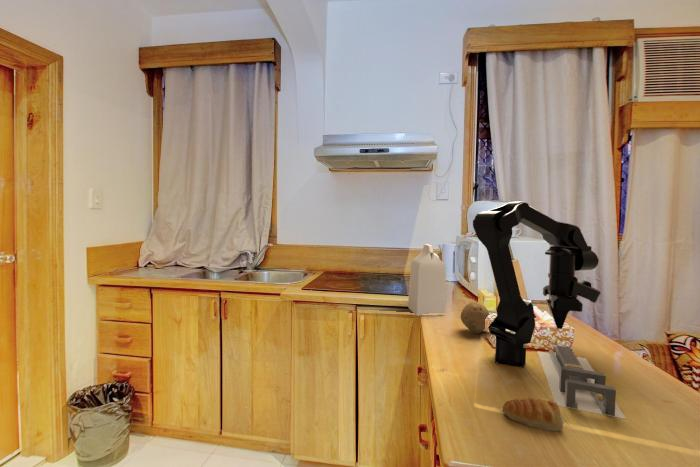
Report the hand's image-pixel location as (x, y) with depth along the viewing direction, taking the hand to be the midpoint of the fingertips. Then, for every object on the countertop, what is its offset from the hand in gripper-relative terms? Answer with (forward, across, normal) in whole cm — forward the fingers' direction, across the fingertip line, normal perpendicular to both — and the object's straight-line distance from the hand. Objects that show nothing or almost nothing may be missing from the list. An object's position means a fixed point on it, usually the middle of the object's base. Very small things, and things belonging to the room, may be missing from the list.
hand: (559, 328), depth 92 cm
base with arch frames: (+7, -17, 0) cm, 18 cm away
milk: (+7, +26, +40) cm, 49 cm away
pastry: (+7, -37, +10) cm, 39 cm away
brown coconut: (+7, +8, +22) cm, 24 cm away
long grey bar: (+6, -13, 0) cm, 15 cm away
